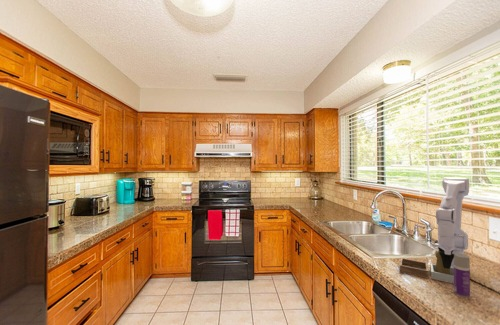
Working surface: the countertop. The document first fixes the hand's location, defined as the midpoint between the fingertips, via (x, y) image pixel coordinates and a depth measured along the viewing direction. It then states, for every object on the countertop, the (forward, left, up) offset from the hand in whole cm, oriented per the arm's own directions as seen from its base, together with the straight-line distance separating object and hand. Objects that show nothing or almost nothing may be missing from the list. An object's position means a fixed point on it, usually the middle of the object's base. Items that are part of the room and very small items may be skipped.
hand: (446, 266), depth 107 cm
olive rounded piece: (0, -1, -5) cm, 5 cm away
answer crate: (0, 0, -5) cm, 5 cm away
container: (+15, +4, -5) cm, 16 cm away
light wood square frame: (0, -12, -5) cm, 13 cm away
